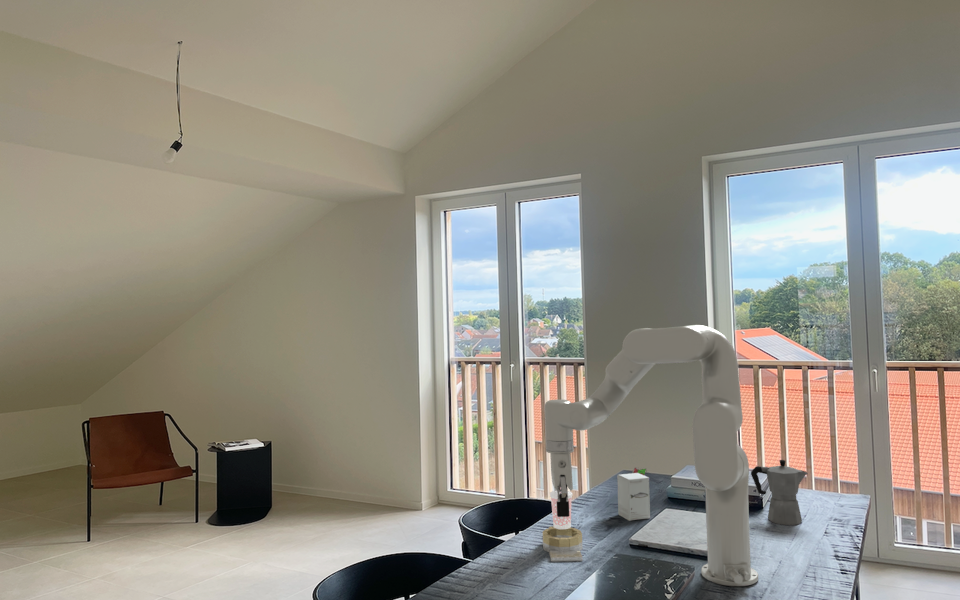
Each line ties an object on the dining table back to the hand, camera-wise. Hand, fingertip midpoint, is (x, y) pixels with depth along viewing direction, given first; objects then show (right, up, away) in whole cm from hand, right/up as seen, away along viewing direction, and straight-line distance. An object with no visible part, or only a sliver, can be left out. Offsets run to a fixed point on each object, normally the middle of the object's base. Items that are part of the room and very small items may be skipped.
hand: (561, 512), depth 179 cm
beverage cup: (0, -4, 0) cm, 4 cm away
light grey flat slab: (0, -10, -3) cm, 10 cm away
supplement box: (+26, -10, +25) cm, 37 cm away
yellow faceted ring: (0, -10, +2) cm, 10 cm away
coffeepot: (+67, -8, +18) cm, 70 cm away
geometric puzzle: (+36, -11, +61) cm, 72 cm away
